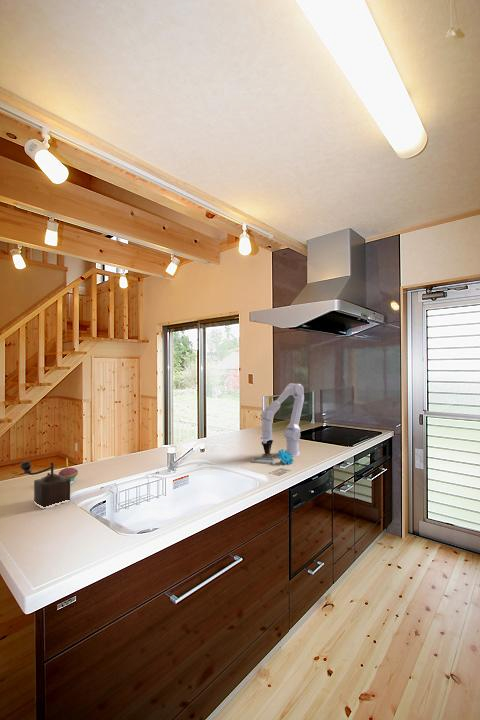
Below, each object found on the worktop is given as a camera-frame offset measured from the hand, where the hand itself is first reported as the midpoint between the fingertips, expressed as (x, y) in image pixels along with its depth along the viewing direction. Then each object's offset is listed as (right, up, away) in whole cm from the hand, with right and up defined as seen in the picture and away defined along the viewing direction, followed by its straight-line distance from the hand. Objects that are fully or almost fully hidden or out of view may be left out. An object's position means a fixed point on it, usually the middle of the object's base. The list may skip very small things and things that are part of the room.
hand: (267, 453), depth 205 cm
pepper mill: (-95, -3, -67) cm, 116 cm away
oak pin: (0, -3, 0) cm, 2 cm away
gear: (+10, -3, -12) cm, 16 cm away
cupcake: (-99, -3, -42) cm, 107 cm away
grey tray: (-3, -3, -8) cm, 9 cm away
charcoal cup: (0, -3, 0) cm, 3 cm away
